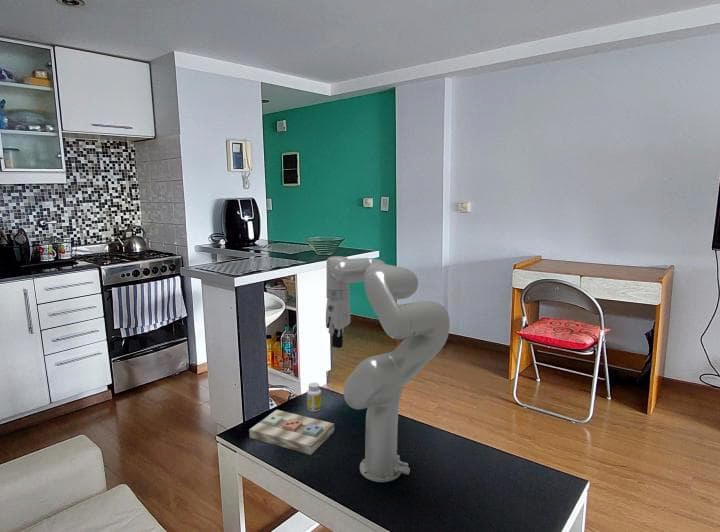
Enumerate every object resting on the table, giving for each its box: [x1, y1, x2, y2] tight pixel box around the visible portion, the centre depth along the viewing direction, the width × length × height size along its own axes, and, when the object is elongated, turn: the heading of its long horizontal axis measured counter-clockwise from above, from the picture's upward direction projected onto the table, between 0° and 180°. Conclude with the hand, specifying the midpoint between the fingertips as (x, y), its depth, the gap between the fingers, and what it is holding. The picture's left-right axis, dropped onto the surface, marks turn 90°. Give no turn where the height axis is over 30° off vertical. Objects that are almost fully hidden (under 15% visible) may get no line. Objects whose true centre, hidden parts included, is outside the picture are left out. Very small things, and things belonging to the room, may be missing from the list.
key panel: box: [248, 409, 335, 456], centre depth 158 cm, size 24×16×3 cm, turn 66°
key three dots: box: [282, 419, 303, 432], centre depth 157 cm, size 5×5×3 cm
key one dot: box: [262, 413, 283, 427], centre depth 161 cm, size 5×5×3 cm
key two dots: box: [302, 424, 323, 437], centre depth 154 cm, size 5×5×3 cm
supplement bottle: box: [306, 382, 322, 413], centre depth 176 cm, size 5×5×10 cm
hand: (337, 346), depth 155 cm, fingers closed
